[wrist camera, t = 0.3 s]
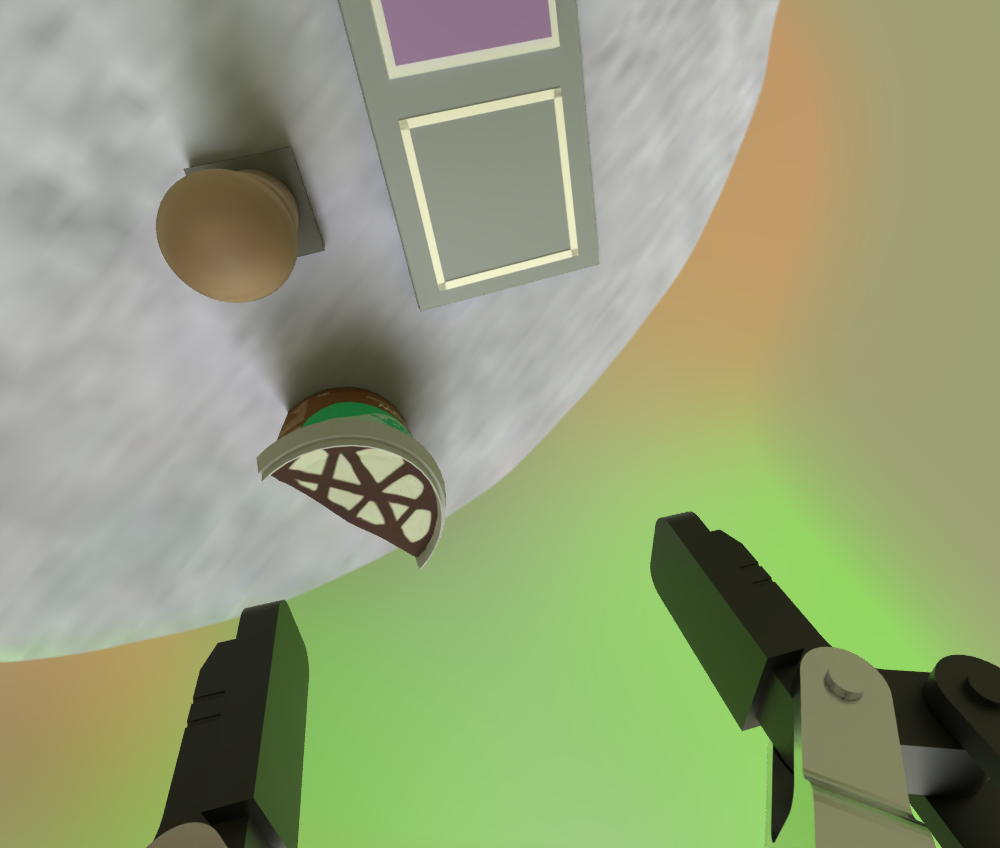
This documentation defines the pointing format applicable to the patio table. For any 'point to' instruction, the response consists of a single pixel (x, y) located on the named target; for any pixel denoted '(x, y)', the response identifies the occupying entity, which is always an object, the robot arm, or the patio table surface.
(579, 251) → the stamping board
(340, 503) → the food container
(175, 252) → the stamp
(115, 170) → the patio table surface
